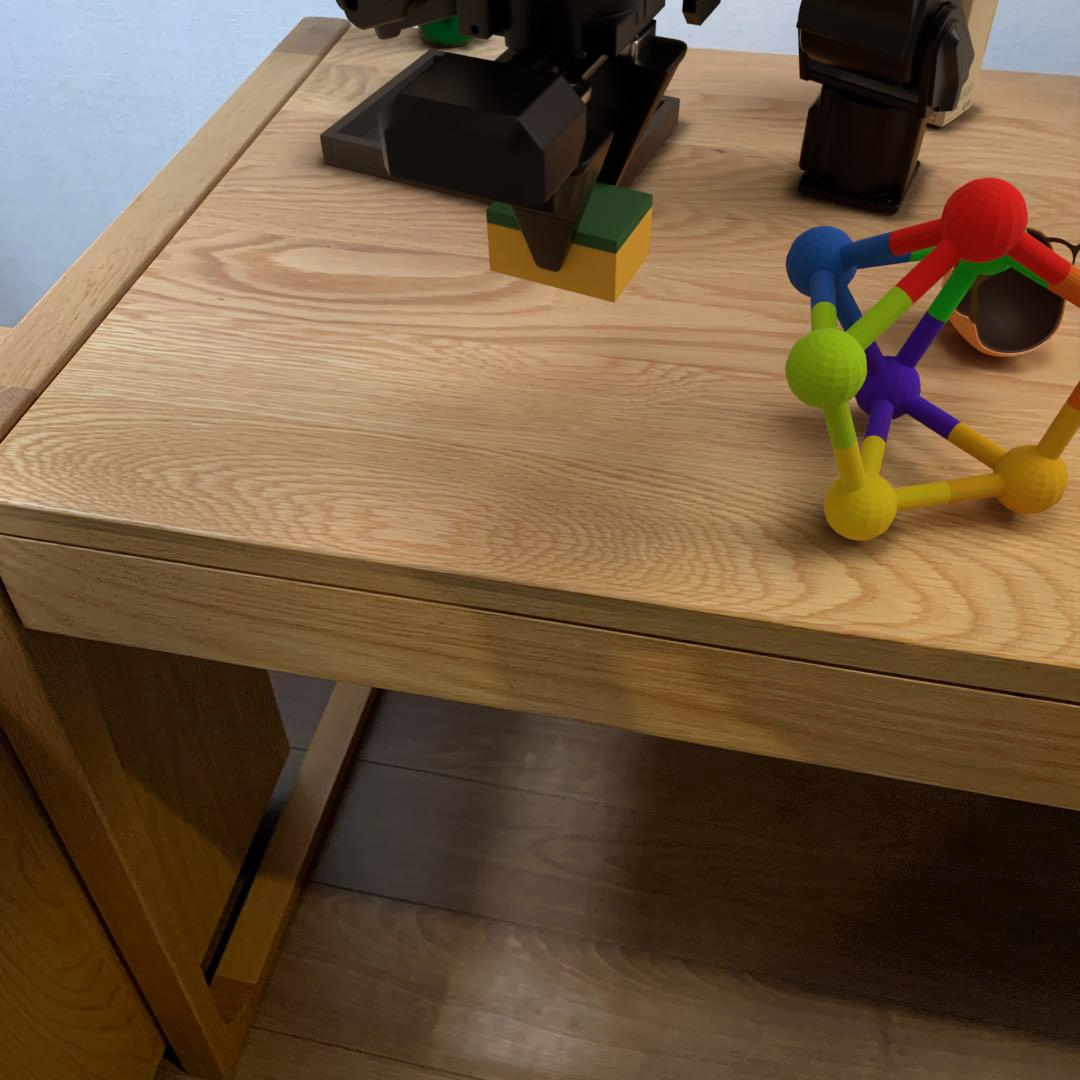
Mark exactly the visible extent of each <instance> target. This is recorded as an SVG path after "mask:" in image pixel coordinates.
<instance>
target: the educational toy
mask: <svg viewBox="0 0 1080 1080" xmlns="http://www.w3.org/2000/svg"><path fill="white" fill-rule="evenodd" d="M1028 223H1029V212H1028V208H1027V204H1026V199H1025V197H1024V196H1023V193H1022V192H1021V191H1020V190H1019V189H1018V188H1017V187H1016V186H1015V185H1013V184H1012V183H1010V182H1009V181H1007V180H1005V179H1001V178H997V177H981V178H976V179H973V180H971V181H968V182H966V183H965V184H963V185H961V186H960V187H958V188H957V189H956V190H955V191H953V192H952V193H951V195H950V196H949V197H948V198H947V200H946V202H945V204H944V206H943V209H942V213H941V215H940V217H939V218H935V219H932V220H928V221H925V222H920V223H917V224H913V225H909V226H906V227H903V228H899V229H895V230H891V231H889V232H884V233H881V234H877V235H873V236H870V237H866V238H861V239H859V240H855V241H853V240H852V238H851V237H850V236H849V235H848V234H847V233H846V232H844V231H843V230H841V229H839V228H838V227H835V226H831V225H819V226H813V227H810V228H809V229H807V230H805V231H804V232H801V233H800V234H799V235H798V236H796V237H795V239H794V240H793V241H792V243H791V245H790V248H789V250H788V252H787V255H786V257H785V264H784V265H785V271H786V275H787V278H788V280H789V282H790V285H792V286H793V288H795V290H796V291H797V292H798V293H800V294H801V295H804V296H806V297H808V298H810V329H811V330H810V331H809V332H807V334H805V335H804V336H802V337H801V338H799V339H797V340H796V341H795V343H794V344H793V345H792V347H791V348H790V351H789V353H788V356H787V359H786V361H785V366H784V373H785V378H786V382H787V385H788V387H789V389H790V391H791V393H792V394H793V395H794V396H795V397H796V398H797V399H798V400H799V401H800V402H801V403H804V404H805V405H807V406H809V407H812V408H816V409H822V413H823V417H824V421H825V424H826V429H827V433H828V436H829V440H830V444H831V447H832V452H833V456H834V459H835V463H836V467H837V470H838V474H839V477H837V478H836V479H835V480H834V481H833V482H832V483H831V484H830V485H829V487H828V488H827V490H826V494H825V497H824V501H823V512H824V515H825V518H826V522H827V524H828V525H829V526H830V528H831V529H832V530H833V531H834V532H835V533H836V534H838V535H839V536H842V537H843V538H846V539H848V540H852V541H855V542H856V541H857V542H859V541H860V542H861V541H870V540H872V539H875V538H877V537H878V536H880V535H882V534H884V533H885V532H886V531H888V529H889V527H890V526H891V525H892V523H893V521H894V519H895V518H896V515H897V513H898V512H902V511H910V510H917V509H922V508H928V507H929V508H930V507H934V506H941V505H948V504H953V503H962V502H966V501H973V500H979V499H986V498H993V497H996V499H997V500H998V501H999V502H1000V503H1001V504H1002V505H1003V506H1004V507H1005V508H1006V509H1009V510H1010V511H1013V512H1015V513H1019V514H1022V515H1023V514H1024V515H1033V514H1034V515H1035V514H1041V513H1043V512H1046V511H1048V510H1050V509H1051V508H1053V507H1054V506H1056V505H1057V504H1058V503H1059V502H1060V501H1061V499H1062V498H1063V496H1064V494H1065V492H1066V490H1067V487H1068V485H1069V474H1068V469H1067V465H1066V463H1065V462H1064V460H1063V459H1062V458H1061V455H1062V454H1063V452H1064V451H1065V449H1066V448H1067V446H1068V445H1069V444H1070V442H1071V441H1072V439H1073V437H1074V436H1075V435H1076V433H1077V431H1078V430H1079V429H1080V380H1079V381H1078V383H1077V384H1076V385H1075V387H1074V389H1073V390H1072V392H1071V393H1070V395H1069V396H1068V397H1067V399H1066V400H1065V402H1064V403H1063V405H1062V407H1061V408H1060V409H1059V411H1058V413H1057V414H1056V415H1055V417H1054V419H1053V421H1052V422H1051V424H1050V425H1049V427H1048V428H1047V429H1046V431H1045V433H1044V434H1043V436H1042V438H1041V439H1040V440H1039V441H1038V443H1037V444H1033V443H1028V444H1027V443H1026V444H1022V445H1019V446H1015V447H1012V448H1010V449H1009V450H1006V449H1005V448H1004V447H1002V446H1000V445H998V444H997V443H995V442H994V441H992V440H991V439H989V438H988V437H986V436H985V435H983V434H981V433H980V432H978V431H976V430H975V429H973V428H972V427H971V426H968V425H967V424H965V423H964V422H962V421H961V420H959V419H958V418H956V417H954V416H953V415H951V414H950V413H948V412H946V411H944V410H943V409H942V408H940V407H938V406H936V405H935V404H934V403H932V402H931V401H929V400H927V399H926V398H924V397H922V396H921V392H922V387H921V386H922V385H921V377H920V373H919V372H918V371H917V369H916V366H917V365H918V364H919V362H920V360H921V359H922V358H923V356H924V355H925V354H926V352H927V351H928V349H929V347H931V345H932V343H933V342H934V340H935V339H936V338H937V336H938V334H939V333H940V332H941V331H942V329H943V328H944V326H945V324H946V323H947V322H948V320H950V319H949V317H950V316H951V314H952V313H953V311H954V310H955V309H956V307H957V306H958V304H959V303H960V301H961V300H962V299H963V297H964V296H965V294H966V293H967V291H968V290H969V288H970V287H971V286H972V284H973V283H974V281H975V280H976V278H977V277H978V275H994V274H997V273H1000V272H1002V271H1005V270H1007V269H1008V268H1010V267H1012V268H1013V269H1015V270H1017V271H1018V272H1020V273H1022V274H1023V275H1025V276H1027V277H1028V278H1030V279H1032V280H1033V281H1035V282H1037V283H1038V284H1040V285H1042V286H1043V287H1045V288H1047V289H1048V290H1050V291H1052V292H1053V293H1055V294H1057V295H1058V296H1060V297H1062V298H1063V299H1065V300H1066V302H1069V303H1070V304H1072V305H1074V306H1075V307H1077V308H1078V309H1080V268H1079V267H1077V266H1076V265H1075V264H1074V265H1073V264H1072V262H1070V261H1068V260H1067V259H1065V258H1064V257H1062V256H1061V255H1059V253H1057V252H1054V251H1055V250H1054V251H1052V250H1051V249H1050V248H1048V247H1047V246H1045V245H1044V244H1042V243H1041V242H1040V241H1038V240H1037V239H1035V238H1034V237H1032V236H1031V235H1029V234H1028V233H1027V230H1026V227H1028ZM914 262H918V263H917V264H916V265H915V266H914V267H913V268H912V269H910V270H909V272H907V273H906V274H905V275H904V276H903V277H902V278H901V279H900V280H899V281H898V282H897V283H896V284H894V285H893V287H892V288H891V289H890V290H888V291H887V292H886V293H885V294H884V295H883V296H882V297H881V298H879V300H878V301H877V302H876V303H875V304H873V305H872V306H871V307H870V308H869V309H868V310H867V311H866V312H865V313H864V314H863V313H862V312H861V310H860V308H859V306H858V304H857V302H856V300H855V298H854V296H853V294H852V292H851V290H850V288H849V285H850V283H851V282H852V281H853V280H854V278H855V276H856V274H857V272H858V270H862V269H863V270H864V269H870V268H877V267H878V268H879V267H885V266H892V265H899V264H908V263H914ZM958 262H959V264H958V266H957V267H956V268H955V270H954V271H953V273H952V274H951V276H950V277H949V279H948V280H947V282H946V283H945V285H944V286H943V288H942V287H941V289H940V291H939V292H938V293H937V295H936V297H934V299H933V301H932V302H931V304H930V305H929V307H928V308H927V310H926V311H925V312H924V314H923V315H922V317H921V318H920V319H919V321H918V323H917V324H916V326H915V327H914V329H913V330H912V332H911V333H910V335H909V336H908V337H907V339H906V341H904V343H903V344H902V346H901V348H900V349H899V350H898V352H897V353H896V355H883V353H882V351H881V348H880V346H879V345H878V343H877V340H878V338H879V337H881V335H883V334H884V333H885V332H886V331H887V330H888V329H889V328H890V327H891V326H892V325H893V324H894V323H895V322H896V321H898V320H899V319H900V318H901V317H902V316H903V315H904V314H905V313H906V312H907V311H909V309H910V308H912V307H913V305H915V304H916V303H917V302H918V301H920V299H921V298H922V297H923V296H924V295H925V294H926V293H928V292H929V291H930V290H931V289H932V288H933V287H934V286H935V285H936V284H937V283H938V282H939V281H940V280H941V279H943V277H944V275H945V274H947V273H948V272H949V271H950V270H951V269H952V268H953V267H954V266H955V265H956V264H957V263H958ZM838 322H839V324H840V326H841V328H842V330H841V329H838ZM853 398H854V399H855V402H856V404H857V406H858V407H859V409H860V410H861V411H862V412H863V413H865V415H867V416H868V418H867V424H866V427H865V431H864V435H863V439H862V443H861V449H860V447H859V443H858V438H857V433H856V431H855V425H854V422H853V418H852V417H853V416H852V414H851V409H850V405H849V401H852V400H853ZM905 415H907V416H909V417H910V418H912V419H914V420H915V421H917V422H918V423H920V424H921V425H923V426H925V427H926V428H927V429H929V430H930V431H932V432H934V433H935V434H937V435H938V436H940V437H941V438H943V439H945V441H948V442H949V443H951V444H952V445H954V446H955V447H957V448H958V449H960V450H962V451H963V452H964V453H966V454H967V455H969V456H971V457H972V458H974V459H976V460H977V461H978V462H980V463H982V464H983V465H985V466H986V467H988V468H989V469H990V470H992V472H991V473H985V474H979V475H973V476H966V477H960V478H959V477H958V478H954V479H953V478H951V479H946V480H940V481H933V482H927V483H922V484H921V483H920V484H915V485H914V484H913V485H907V486H901V487H894V488H893V487H892V484H890V482H889V481H888V480H887V479H886V478H884V477H883V476H882V475H880V473H881V469H882V465H883V464H882V463H883V460H884V455H885V450H886V446H887V441H888V437H889V433H890V429H891V423H892V421H893V420H897V419H899V418H901V417H903V416H905Z"/></svg>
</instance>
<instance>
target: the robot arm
mask: <svg viewBox="0 0 1080 1080" xmlns="http://www.w3.org/2000/svg"><path fill="white" fill-rule="evenodd" d="M335 2H336V4H337V6H338V7H339V9H341V10H342V11H343V13H344V15H345V17H346V19H347V21H348V22H349V23H350V24H351V25H353V26H354V27H356V28H358V29H359V30H361V31H367V30H370V29H373V30H374V32H375V34H376V37H377V39H378V40H380V41H386V40H391V39H395V38H398V37H399V36H400V35H401V33H402V31H403V30H407V29H411V28H414V27H418V26H419V25H423V24H427V23H430V22H434V21H438V20H442V19H446V18H449V17H452V16H455V15H457V18H458V31H459V35H463V36H468V37H474V38H476V39H478V40H479V39H480V40H486V41H487V40H489V39H490V38H492V37H493V36H497V37H503V38H504V46H505V47H506V48H507V49H505V50H504V51H503V52H502V53H501V54H499V56H497V57H496V58H495V59H494V60H492V59H487V58H482V57H477V56H472V55H466V54H462V53H461V54H460V53H456V52H450V51H445V52H446V53H445V54H444V55H442V56H441V57H440V58H439V59H438V60H436V61H435V62H434V63H433V64H432V65H430V66H429V67H428V68H427V69H426V70H424V71H423V72H422V73H421V74H420V75H419V76H417V77H416V78H415V79H414V80H413V81H411V82H410V83H409V84H408V85H407V86H405V87H404V88H403V89H402V90H401V91H399V92H398V93H397V94H396V95H395V96H394V97H393V98H392V100H391V101H390V102H389V103H388V104H387V105H386V106H385V107H384V108H383V109H382V110H381V111H380V113H379V114H378V123H379V130H380V137H381V144H382V151H383V158H384V165H385V168H386V169H387V171H388V173H389V175H390V177H395V178H399V179H403V180H407V181H412V182H416V183H420V184H424V185H428V186H433V187H437V188H441V189H445V190H450V191H454V192H458V193H462V194H467V195H471V196H475V197H479V198H483V199H488V200H492V201H496V202H500V203H505V204H509V205H510V206H511V208H512V211H513V213H514V215H515V218H516V220H517V222H518V225H519V227H520V229H521V232H522V234H523V236H524V239H525V241H526V243H527V246H528V248H529V250H530V253H531V255H532V257H533V260H534V262H535V264H536V266H538V267H539V268H541V269H545V270H549V271H553V272H558V271H560V269H561V268H562V267H563V265H564V262H565V260H566V258H567V255H568V253H569V250H570V248H571V246H572V243H573V241H574V238H575V236H576V233H577V230H578V228H579V225H580V222H581V220H582V217H583V214H584V212H585V209H586V207H587V204H588V201H589V199H590V196H591V193H592V191H593V188H594V185H595V183H596V182H600V183H605V184H609V185H614V186H618V185H619V183H620V181H621V179H622V177H623V175H624V173H625V170H626V168H627V166H628V164H629V162H630V160H631V158H632V156H633V154H634V152H635V150H636V148H637V145H638V144H639V142H640V140H641V138H642V136H643V134H644V132H645V130H646V128H647V126H648V124H649V122H650V120H651V119H652V117H653V115H654V113H655V111H656V109H657V107H658V105H659V103H660V101H661V99H662V97H663V95H665V93H666V92H667V89H668V87H669V85H670V83H671V82H672V79H673V77H674V75H675V73H676V72H677V70H678V68H679V67H680V64H681V63H682V61H683V60H684V58H685V57H686V54H687V52H688V43H686V42H685V41H684V40H681V39H677V38H671V37H666V36H660V35H657V22H658V21H657V20H656V19H654V18H655V17H657V15H658V14H660V12H661V11H662V10H663V9H664V8H665V7H666V0H335ZM721 2H722V0H682V4H681V5H682V7H681V12H682V15H683V18H684V20H685V23H686V24H687V25H692V26H698V27H701V26H702V25H703V24H704V22H705V21H706V20H707V19H708V18H709V17H710V16H711V15H712V13H713V12H714V11H715V10H716V9H717V8H718V7H719V6H720V5H721ZM795 28H796V29H797V44H798V46H797V48H798V75H799V76H798V77H799V79H800V80H802V81H805V82H809V81H810V82H813V83H817V84H819V85H821V88H820V92H818V94H817V95H816V97H814V100H813V101H812V102H811V104H810V106H809V107H808V108H807V115H806V120H805V126H804V132H803V137H802V143H801V148H800V154H799V159H798V165H797V166H798V168H799V170H800V171H803V173H802V175H801V176H800V178H799V179H798V181H797V185H796V191H797V192H798V193H799V194H803V195H807V196H812V197H816V198H821V199H824V200H825V199H826V200H829V201H830V200H831V201H835V202H840V203H844V204H848V205H853V206H858V207H863V208H866V209H871V210H875V211H881V212H885V213H888V214H895V213H898V212H899V211H900V210H901V208H902V206H903V204H904V202H905V200H906V197H907V195H908V193H909V191H910V189H911V188H912V186H913V183H914V181H915V179H916V177H917V175H918V173H919V171H920V167H921V164H922V163H921V161H920V160H918V159H919V156H920V152H921V148H922V144H923V140H924V136H925V133H926V128H927V125H928V123H927V121H928V118H929V117H930V116H931V115H932V114H933V113H935V112H946V111H953V110H954V109H955V108H957V104H958V101H959V97H960V94H961V90H962V87H963V85H964V84H965V83H966V81H967V79H968V77H969V70H970V67H971V65H972V62H973V59H974V55H975V53H974V49H973V45H972V41H971V37H970V33H969V29H968V25H967V21H966V17H965V13H964V10H963V8H962V7H961V0H801V1H800V6H799V8H798V14H797V21H796V24H795Z"/></svg>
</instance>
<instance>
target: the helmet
mask: <svg viewBox="0 0 1080 1080" xmlns="http://www.w3.org/2000/svg"><path fill="white" fill-rule="evenodd" d="M1026 230H1027V233H1028V234H1029V235H1031V236H1032V237H1034V238H1035V239H1037V240H1038V241H1040V242H1041V243H1042V244H1044V245H1045V246H1047V247H1048V248H1050V249H1051V250H1052V251H1054V252H1055V248H1054V246H1053V244H1052V243H1057V244H1061V245H1064V246H1065V247H1066V248H1068V249H1069V250H1070V252H1071V254H1072V262H1071V264H1073V265H1074V266H1075V263H1076V259H1077V257H1078V254H1079V252H1080V243H1078V244H1076V245H1074V244H1073V243H1071V242H1069V241H1068V240H1065V239H1064V238H1061V237H1055V236H1048V235H1047V234H1046V233H1045V232H1043V231H1042V230H1041V229H1038V228H1035V227H1031V226H1027V227H1026ZM1055 253H1056V252H1055ZM958 264H959V262H958V263H957V264H956V265H955V266H954V267H953V268H952V269H951V270H950V271H949V272H948V273H947V274H945V275H944V276H943V277H942V282H941V289H942V288H943V286H944V285H945V283H946V282H947V280H948V279H949V277H950V276H951V274H952V273H953V271H954V270H955V268H956V267H957V266H958ZM1066 304H1067V300H1065V299H1063V298H1062V297H1060V296H1058V295H1057V294H1055V293H1053V292H1052V291H1050V290H1048V289H1047V288H1045V287H1043V286H1042V285H1040V284H1038V283H1037V282H1035V281H1033V280H1032V279H1030V278H1028V277H1027V276H1025V275H1023V274H1022V273H1020V272H1018V271H1017V270H1015V269H1013V268H1012V267H1010V268H1008V269H1007V270H1005V271H1002V272H1000V273H997V274H994V275H978V277H977V278H976V280H975V281H974V283H973V284H972V286H971V287H970V288H969V290H968V291H967V293H966V294H965V296H964V297H963V299H962V300H961V301H960V303H959V304H958V306H957V307H956V309H955V310H954V311H953V313H952V314H951V316H950V317H949V319H948V320H949V321H950V322H951V324H952V325H953V327H954V328H955V330H957V332H958V333H959V334H960V336H961V337H962V338H963V339H964V340H965V341H966V342H967V343H969V345H971V346H972V348H975V349H976V350H977V351H979V352H981V353H982V354H985V355H987V356H992V357H1001V358H1008V357H1009V358H1011V357H1019V356H1022V355H1025V354H1028V353H1031V352H1033V351H1035V350H1037V349H1039V348H1040V347H1042V346H1043V345H1045V344H1046V343H1048V342H1049V341H1050V340H1051V339H1052V338H1053V337H1054V336H1055V335H1056V334H1057V332H1058V331H1059V330H1060V328H1061V325H1062V322H1063V318H1064V314H1065V310H1066V306H1067V305H1066Z"/></svg>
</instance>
